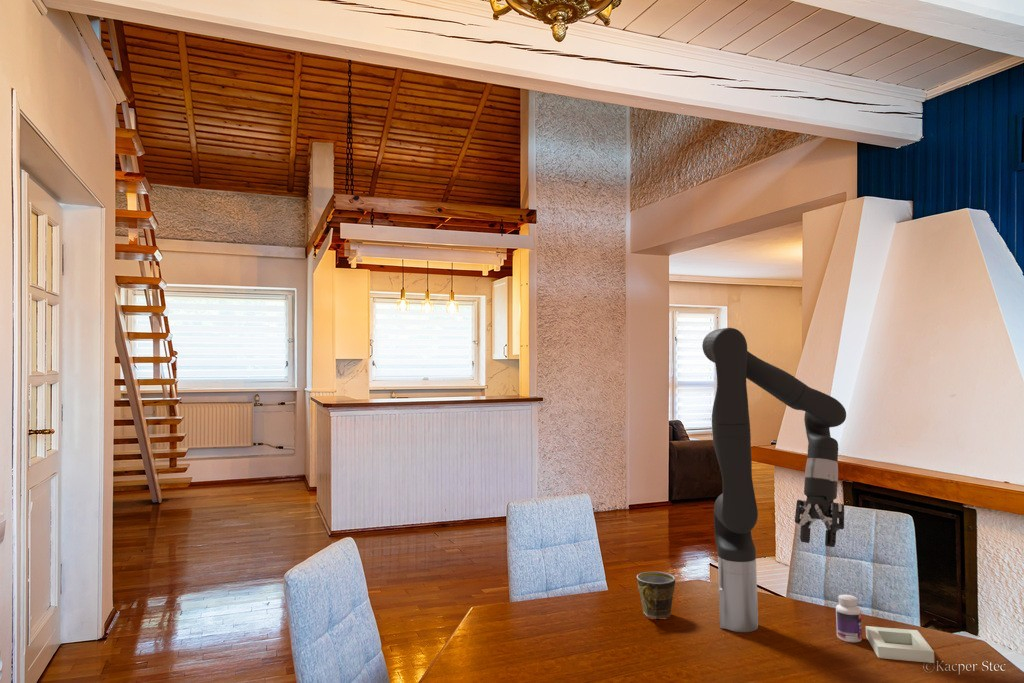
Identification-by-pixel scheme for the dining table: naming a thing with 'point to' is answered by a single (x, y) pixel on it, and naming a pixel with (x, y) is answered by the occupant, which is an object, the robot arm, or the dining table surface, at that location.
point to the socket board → (912, 652)
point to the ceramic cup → (656, 593)
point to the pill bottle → (848, 619)
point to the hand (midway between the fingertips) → (817, 544)
